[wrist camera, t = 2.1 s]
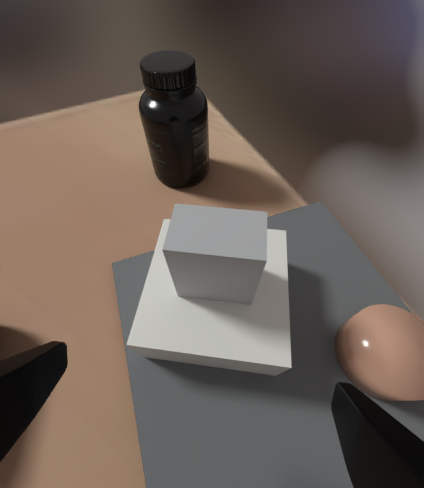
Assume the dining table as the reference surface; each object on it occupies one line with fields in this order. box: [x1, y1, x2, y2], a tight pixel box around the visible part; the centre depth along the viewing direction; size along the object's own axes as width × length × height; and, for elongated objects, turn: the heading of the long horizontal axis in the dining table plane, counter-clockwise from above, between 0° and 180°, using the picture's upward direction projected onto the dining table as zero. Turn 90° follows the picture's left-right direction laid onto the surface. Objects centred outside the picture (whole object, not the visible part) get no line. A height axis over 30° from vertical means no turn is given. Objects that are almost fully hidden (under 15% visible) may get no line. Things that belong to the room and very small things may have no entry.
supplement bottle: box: [139, 50, 209, 188], centre depth 27 cm, size 7×7×12 cm
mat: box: [112, 201, 424, 488], centre depth 20 cm, size 21×23×1 cm
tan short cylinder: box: [335, 304, 424, 401], centre depth 18 cm, size 6×6×3 cm
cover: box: [127, 204, 292, 376], centre depth 17 cm, size 10×10×10 cm
